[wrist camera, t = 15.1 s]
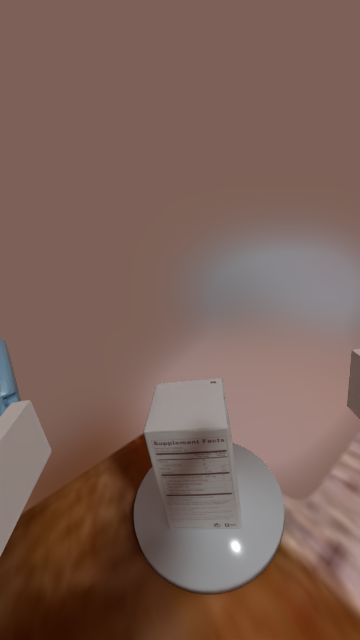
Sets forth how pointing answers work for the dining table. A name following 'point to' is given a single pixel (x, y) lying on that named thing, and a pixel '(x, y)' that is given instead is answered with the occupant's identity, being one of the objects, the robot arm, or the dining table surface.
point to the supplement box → (194, 455)
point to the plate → (214, 534)
